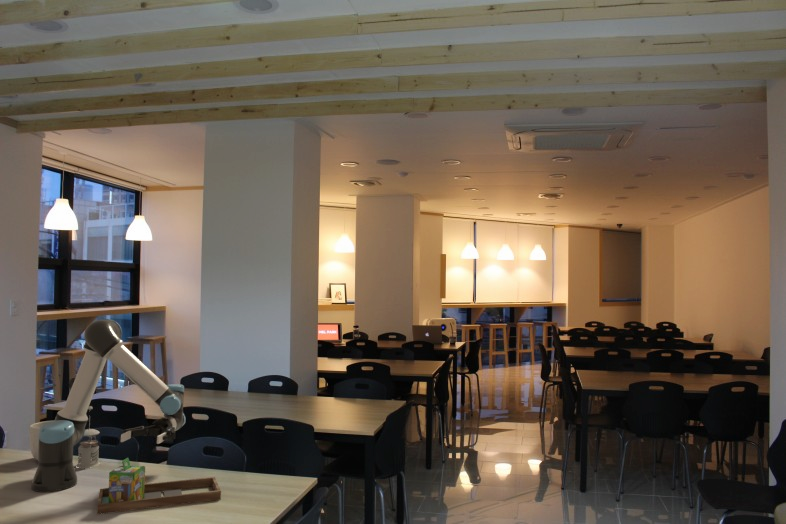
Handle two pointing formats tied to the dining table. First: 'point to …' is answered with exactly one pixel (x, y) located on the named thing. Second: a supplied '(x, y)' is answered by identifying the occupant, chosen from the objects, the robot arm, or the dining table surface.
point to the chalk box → (126, 483)
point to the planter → (35, 437)
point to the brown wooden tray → (163, 500)
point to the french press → (88, 449)
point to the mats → (166, 493)
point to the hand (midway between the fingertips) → (139, 439)
